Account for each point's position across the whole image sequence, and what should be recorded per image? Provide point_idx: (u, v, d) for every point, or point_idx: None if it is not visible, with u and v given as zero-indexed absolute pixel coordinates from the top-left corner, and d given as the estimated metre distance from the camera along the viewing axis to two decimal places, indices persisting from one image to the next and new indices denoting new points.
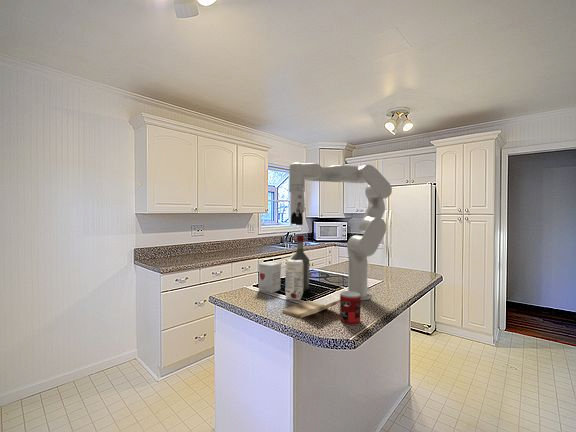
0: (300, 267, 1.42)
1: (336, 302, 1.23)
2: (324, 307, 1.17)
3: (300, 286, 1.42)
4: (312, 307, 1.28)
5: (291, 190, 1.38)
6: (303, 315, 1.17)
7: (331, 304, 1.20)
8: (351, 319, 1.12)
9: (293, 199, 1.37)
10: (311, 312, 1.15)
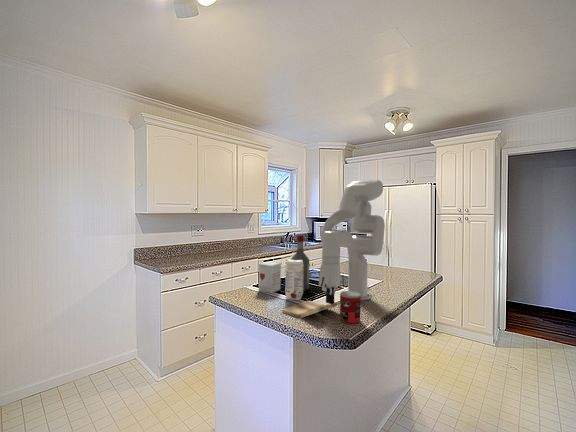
0: (300, 267, 1.42)
1: (336, 303, 1.23)
2: (324, 307, 1.17)
3: (300, 286, 1.42)
4: (312, 307, 1.28)
5: (339, 262, 1.23)
6: (303, 315, 1.17)
7: (331, 305, 1.20)
8: (351, 319, 1.12)
9: (338, 272, 1.24)
10: (311, 312, 1.15)
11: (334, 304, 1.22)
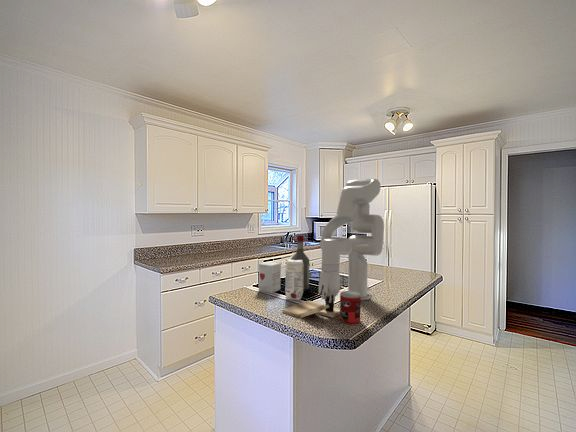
0: (300, 267, 1.42)
1: (339, 313, 1.22)
2: (324, 307, 1.17)
3: (300, 286, 1.42)
4: (312, 307, 1.28)
5: None
6: (303, 315, 1.17)
7: (334, 315, 1.19)
8: (351, 319, 1.12)
9: (338, 280, 1.24)
10: (311, 312, 1.15)
11: (336, 314, 1.21)
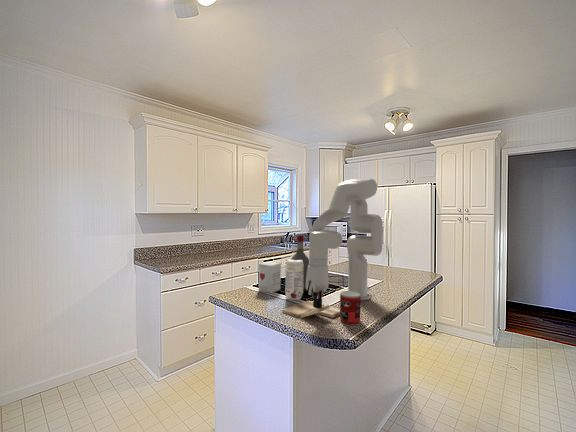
0: (300, 267, 1.42)
1: (339, 313, 1.22)
2: (324, 308, 1.17)
3: (300, 286, 1.42)
4: (312, 307, 1.28)
5: (327, 264, 1.16)
6: (303, 315, 1.17)
7: (334, 315, 1.19)
8: (351, 319, 1.12)
9: (326, 275, 1.18)
10: (311, 312, 1.15)
11: (336, 314, 1.21)
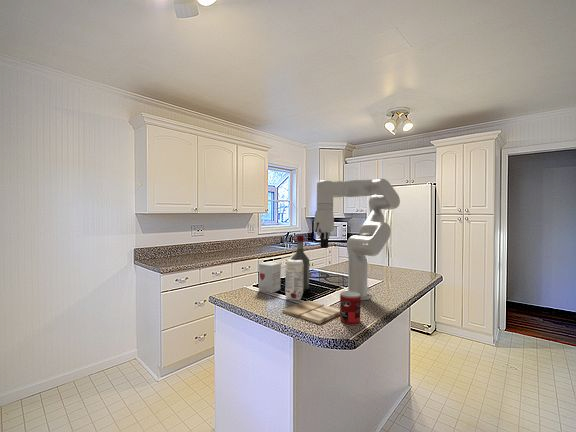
0: (300, 267, 1.42)
1: (339, 313, 1.22)
2: (327, 318, 1.16)
3: (300, 286, 1.42)
4: (312, 307, 1.28)
5: (332, 209, 1.32)
6: (304, 317, 1.17)
7: (334, 315, 1.19)
8: (351, 319, 1.12)
9: (332, 219, 1.33)
10: (313, 320, 1.14)
11: (336, 314, 1.21)
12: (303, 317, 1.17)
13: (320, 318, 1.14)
